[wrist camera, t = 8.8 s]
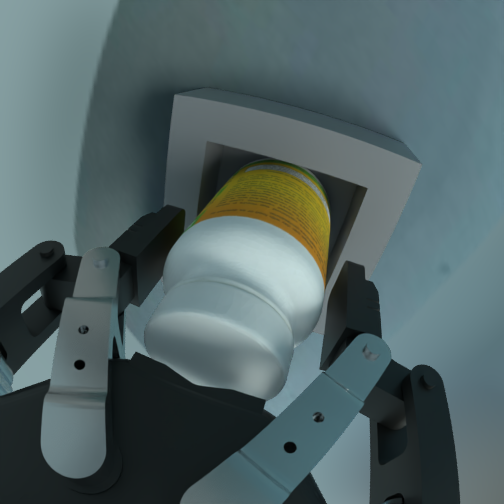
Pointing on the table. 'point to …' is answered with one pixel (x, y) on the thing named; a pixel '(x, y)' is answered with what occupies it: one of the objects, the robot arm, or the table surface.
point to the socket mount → (296, 152)
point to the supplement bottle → (245, 281)
